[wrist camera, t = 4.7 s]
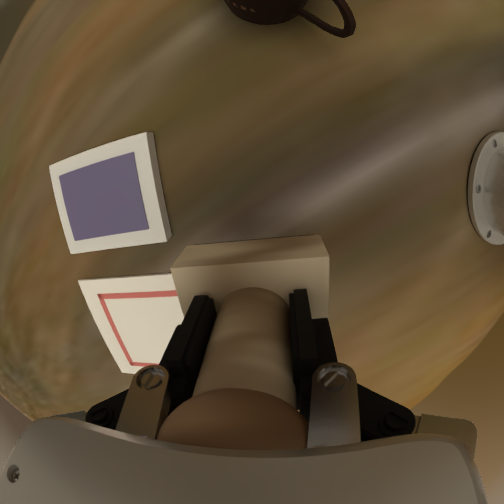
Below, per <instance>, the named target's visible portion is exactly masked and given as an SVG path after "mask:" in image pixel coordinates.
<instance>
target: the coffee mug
mask: <svg viewBox="0 0 504 504" xmlns="http://www.w3.org/2000/svg"><path fill="white" fill-rule="evenodd" d="M307 1H308V0H225V2H226V4H227V5H228V7H229V8H230V10H231V11H232V12H233V13H234V14H235V15H236V16H238V17H239V18H241V19H243V20H245V21H248V22H251V23H256V24H264V25H269V24H278V23H283V22H285V21H288V20H290V19H292V18H294V17H295V16H296V15H297V14H299V15H300V16H302V17H304V18H305V19H307V20H308V21H310V22H312V23H313V24H315V25H316V26H318V27H320V28H321V29H323V30H324V31H326V32H329V33H331V34H333V35H335V36H338V37H341V38H345V37H348V36H351V35H353V34H354V31H355V27H356V22H355V19H354V16H353V13H352V11H351V9H350V8H349V6H348V4H347V3H346V1H345V0H332V1H333V2H334V3H335V4H336V5H337V7H338V8H339V10H340V12H341V14H342V17H343V19H344V29H339V28H336V27H333V26H331V25H329V24H327V23H325V22H324V21H322V20H320V19H319V18H317V17H315V16H314V15H312V14H311V13H309V12H307V11H305V10H304V9H302V8H303V7H304V5H305V4H306V2H307Z"/></svg>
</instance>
